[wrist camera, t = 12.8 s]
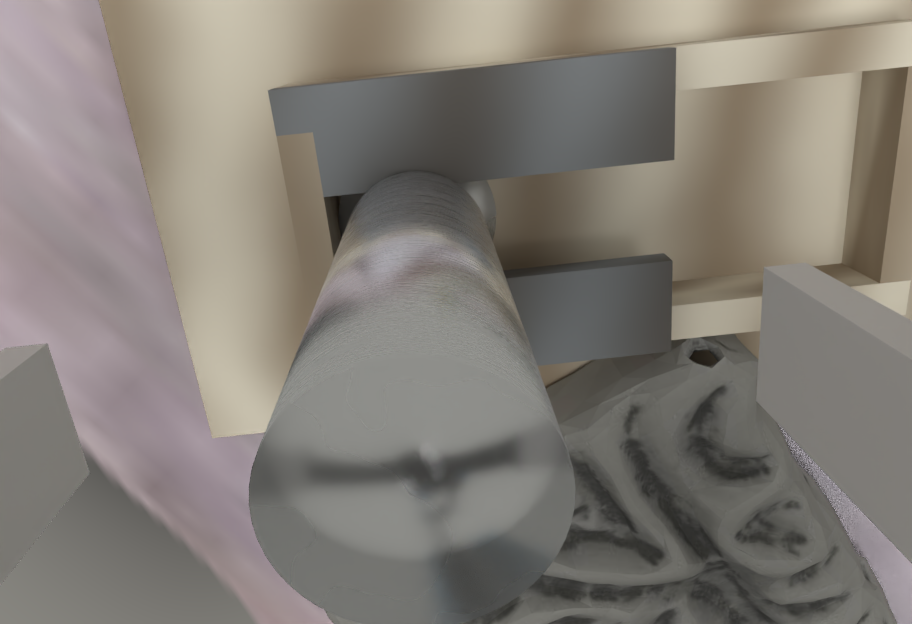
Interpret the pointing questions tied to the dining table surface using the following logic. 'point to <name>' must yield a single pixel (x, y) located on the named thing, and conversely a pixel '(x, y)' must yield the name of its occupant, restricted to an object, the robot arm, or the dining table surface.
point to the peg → (413, 422)
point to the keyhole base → (706, 209)
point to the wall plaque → (689, 505)
